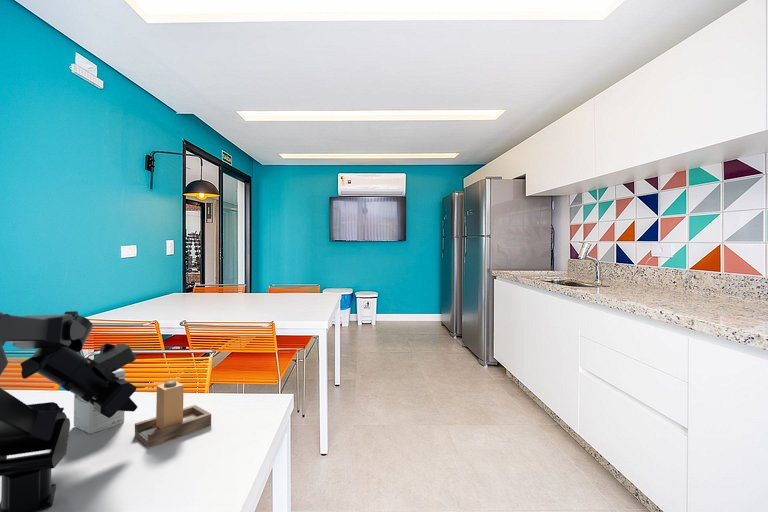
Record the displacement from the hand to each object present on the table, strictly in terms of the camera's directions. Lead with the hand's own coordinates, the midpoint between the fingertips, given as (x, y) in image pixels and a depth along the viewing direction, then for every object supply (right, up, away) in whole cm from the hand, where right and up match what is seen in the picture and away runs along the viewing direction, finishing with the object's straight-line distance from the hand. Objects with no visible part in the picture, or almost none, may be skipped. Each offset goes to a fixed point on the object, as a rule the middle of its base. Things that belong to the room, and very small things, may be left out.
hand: (135, 408), depth 77 cm
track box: (+5, -7, +6) cm, 11 cm away
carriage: (+4, -6, +5) cm, 9 cm away
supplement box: (-14, -7, +8) cm, 18 cm away
